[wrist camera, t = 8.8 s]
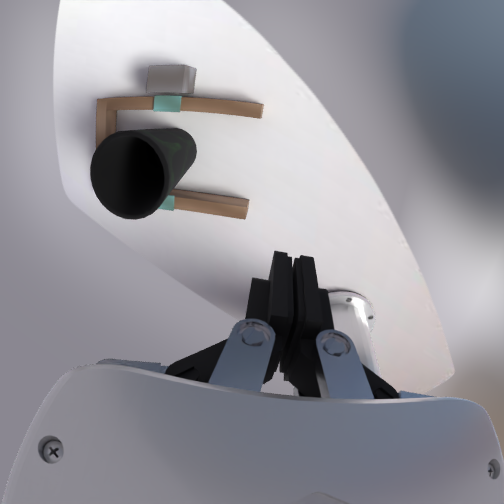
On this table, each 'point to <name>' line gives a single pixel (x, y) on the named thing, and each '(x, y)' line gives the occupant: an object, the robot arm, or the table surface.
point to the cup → (140, 169)
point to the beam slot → (178, 82)
